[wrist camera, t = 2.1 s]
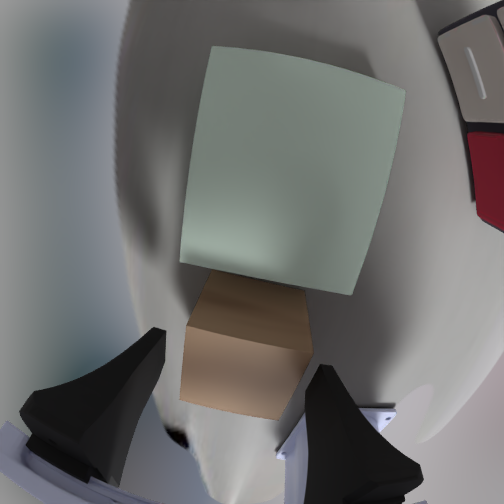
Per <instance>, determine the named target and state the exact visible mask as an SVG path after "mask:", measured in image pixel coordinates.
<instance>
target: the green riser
mask: <svg viewBox="0 0 504 504" xmlns="http://www.w3.org/2000/svg"><path fill="white" fill-rule="evenodd" d="M405 95H406V90H403V89H401V88H398V87H396V86H393V85H391V84H388V83H386V82H383V81H380V80H377V79H375V78H372V77H369V76H366V75H363V74H360V73H357V72H354V71H350V70H347V69H344V68H340V67H337V66H333V65H329V64H325V63H321V62H317V61H313V60H309V59H304V58H300V57H295V56H290V55H285V54H279V53H273V52H267V51H260V50H252V49H244V48H234V47H223V46H212V47H211V52H210V56H209V61H208V65H207V70H206V74H205V79H204V84H203V89H202V94H201V100H200V105H199V110H198V116H197V122H196V128H195V134H194V140H193V146H192V153H191V160H190V167H189V174H188V182H187V190H186V198H185V207H184V216H183V226H182V237H181V248H180V261H179V262H182V263H187V264H192V265H196V266H201V267H206V268H211V269H215V270H220V271H225V272H230V273H235V274H240V275H245V276H250V277H255V278H260V279H265V280H270V281H275V282H280V283H286V284H291V285H296V286H302V287H307V288H312V289H318V290H323V291H329V292H334V293H340V294H346V295H352V293H353V290H354V287H355V285H356V282H357V279H358V277H359V274H360V271H361V268H362V265H363V263H364V260H365V257H366V254H367V251H368V248H369V245H370V242H371V239H372V235H373V232H374V229H375V226H376V223H377V219H378V216H379V212H380V209H381V205H382V202H383V198H384V195H385V191H386V187H387V183H388V179H389V175H390V171H391V167H392V163H393V158H394V154H395V149H396V145H397V140H398V135H399V130H400V125H401V119H402V113H403V107H404V101H405Z"/></svg>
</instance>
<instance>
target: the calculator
mask: <svg viewBox="0 0 504 504" xmlns="http://www.w3.org/2000/svg"><path fill="white" fill-rule="evenodd" d="M438 36H439V37H438V43H439V46H440V48H441V51H442V53H443V56H444V59H445V61H446V64H447V67H448V70H449V72H450V75H451V78H452V81H453V84H454V88H455V91H456V94H457V98H458V101H459V105H460V109H461V113H462V116H463V118H464V120H465V121H466V123H467V127H468V132H469V133H468V134H467V139H468V145H469V150H470V156H471V162H472V169H473V177H474V186H475V197H476V210H477V215H478V216H479V217H480V218H481V220H482V221H484V222H485V223H487V224H489V225H491V226H492V227H494V228H496V229H498V230H499V231H501V232H503V233H504V0H502V1H499V2H497V3H495V4H492V5H490V6H488V7H486V8H483V9H481V10H479V11H477V12H475V13H473V14H471V15H469V16H467V17H465V18H463V19H461V20H459V21H457V22H455V23H453V24H451V25H449V26H447V27H445V28H443V29H442V30H440V31H439V33H438Z"/></svg>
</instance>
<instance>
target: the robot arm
mask: <svg viewBox="0 0 504 504" xmlns="http://www.w3.org/2000/svg"><path fill="white" fill-rule="evenodd" d="M165 349H166V331H165V330H162V329H159V328H155V327H153V328H151V329H150V330H149V331H148V332H147V333H146V334H145V335H144V336H142V337H141V338H140V339H139V340H138V341H137V342H135V343H134V344H133V345H132V346H130V347H129V348H128V349H127V350H125V351H124V352H123V353H121V354H120V355H118V356H117V357H115V358H114V359H112V360H111V361H110V362H108V363H107V364H105V365H103V366H101V367H100V368H98V369H96V370H95V371H93V372H91V373H88V374H86V375H84V376H82V377H80V378H78V379H75V380H73V381H70V382H67V383H64V384H61V385H58V386H55V387H51V388H47V389H43V390H38V391H34V392H33V393H32V394H31V395H30V397H29V398H28V399H27V401H26V402H25V404H24V405H23V407H22V408H21V410H20V411H19V412H20V416H21V418H22V420H23V421H24V422H25V424H26V425H27V427H28V428H29V429H30V431H31V432H32V435H31V437H30V438H29V437H28V436H27V435H26V434H25V433H24V432H22V431H21V430H20V429H18V428H17V427H15V426H14V425H13V424H11V423H10V422H9V421H6V422H5V423H4V425H3V426H2V428H1V429H0V471H1V472H2V473H3V474H4V475H5V476H7V477H8V478H9V479H11V480H12V481H13V482H14V483H16V484H17V485H18V486H20V487H21V488H22V489H24V490H25V491H27V492H28V493H29V494H31V495H32V496H34V497H35V498H37V499H38V500H40V501H41V502H43V503H44V504H163V503H160V502H156V501H153V500H150V499H146V498H144V497H141V496H138V495H135V494H132V493H129V492H127V491H124V490H122V489H119V488H118V487H119V485H120V481H121V477H122V473H123V468H124V465H125V461H126V457H127V454H128V450H129V447H130V444H131V441H132V438H133V435H134V432H135V428H136V426H137V423H138V420H139V418H140V416H141V413H142V411H143V409H144V407H145V405H146V403H147V401H148V399H149V397H150V395H151V393H152V391H153V389H154V387H155V385H156V383H157V381H158V379H159V377H160V374H161V371H162V368H163V366H164V363H165ZM396 414H397V412H396V409H377V408H358V407H357V405H356V404H355V402H354V401H353V399H352V398H351V396H350V395H349V393H348V392H347V390H346V388H345V387H344V385H343V383H342V382H341V380H340V378H339V376H338V375H337V373H336V371H335V370H334V368H333V366H331V365H323V364H320V365H319V367H318V369H317V371H316V373H315V375H314V377H313V378H312V380H311V382H310V384H309V386H308V387H307V389H306V392H305V413H304V415H303V416H302V418H301V419H300V421H299V422H298V424H297V425H296V427H295V428H294V430H293V431H292V432H291V434H290V435H289V437H288V438H287V440H286V441H285V442H284V444H283V445H282V447H281V448H280V449H279V451H278V452H277V453H276V458H277V459H284V460H285V498H284V504H402V502H404V501H405V497H404V495H405V494H407V493H408V492H410V491H412V490H413V489H415V488H416V487H418V486H419V485H420V484H421V483H422V482H423V480H424V478H423V475H422V471H421V467H420V464H418V463H416V462H415V461H413V460H412V459H410V458H408V457H407V456H405V455H404V454H403V453H401V452H400V451H399V450H397V449H396V448H395V447H393V446H392V445H391V444H390V443H389V442H388V441H387V440H386V439H385V438H384V437H382V435H380V433H379V432H380V431H381V430H382V429H383V428H384V427H385V426H386V425H387V424H388V423H389V422H390V421H391V420H392V419H393V418H394V416H395V415H396ZM414 504H427V501H421V502H418V503H414Z"/></svg>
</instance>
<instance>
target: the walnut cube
mask: <svg viewBox="0 0 504 504" xmlns="http://www.w3.org/2000/svg"><path fill="white" fill-rule="evenodd" d="M313 354H314V351H313V344H312V337H311V330H310V323H309V317H308V310H307V304H306V298H305V292H304V291H303V290H299V289H294V288H290V287H285V286H281V285H277V284H272V283H268V282H263V281H259V280H255V279H250V278H246V277H242V276H238V275H234V274H229V273H225V272H221V271H217V270H213V269H212V271H211V273H210V275H209V277H208V279H207V281H206V284H205V286H204V288H203V290H202V292H201V294H200V297H199V299H198V301H197V303H196V305H195V307H194V310H193V312H192V314H191V316H190V318H189V321H188V323H187V325H186V333H185V343H184V353H183V364H182V375H181V388H180V400H182V401H186V402H189V403H193V404H197V405H201V406H205V407H209V408H213V409H218V410H222V411H227V412H232V413H237V414H242V415H247V416H253V417H259V418H265V419H272V420H279V418H280V417H281V415H282V413H283V411H284V410H285V408H286V406H287V404H288V402H289V401H290V399H291V397H292V395H293V393H294V391H295V389H296V387H297V386H298V384H299V382H300V380H301V378H302V376H303V374H304V372H305V370H306V368H307V366H308V364H309V362H310V360H311V358H312V356H313Z"/></svg>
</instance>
